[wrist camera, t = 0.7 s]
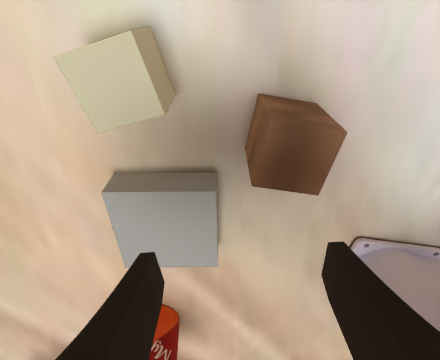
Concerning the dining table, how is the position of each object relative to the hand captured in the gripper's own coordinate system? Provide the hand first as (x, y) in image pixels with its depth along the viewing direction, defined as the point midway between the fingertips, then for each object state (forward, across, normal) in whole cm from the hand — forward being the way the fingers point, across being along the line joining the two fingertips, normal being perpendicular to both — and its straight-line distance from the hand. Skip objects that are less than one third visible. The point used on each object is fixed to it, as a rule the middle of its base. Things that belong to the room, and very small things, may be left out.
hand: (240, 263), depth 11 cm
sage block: (+10, +6, -6) cm, 13 cm away
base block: (+10, +6, +5) cm, 13 cm away
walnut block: (+10, -3, -2) cm, 11 cm away
